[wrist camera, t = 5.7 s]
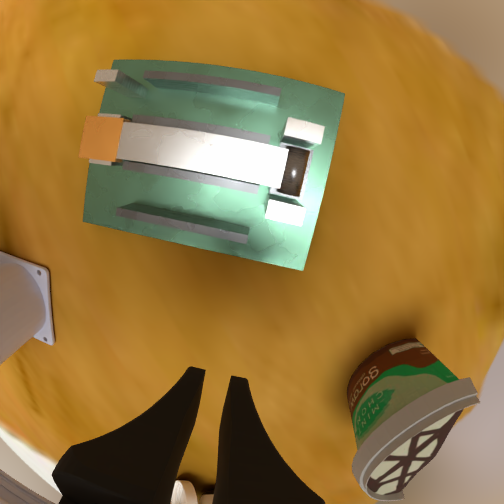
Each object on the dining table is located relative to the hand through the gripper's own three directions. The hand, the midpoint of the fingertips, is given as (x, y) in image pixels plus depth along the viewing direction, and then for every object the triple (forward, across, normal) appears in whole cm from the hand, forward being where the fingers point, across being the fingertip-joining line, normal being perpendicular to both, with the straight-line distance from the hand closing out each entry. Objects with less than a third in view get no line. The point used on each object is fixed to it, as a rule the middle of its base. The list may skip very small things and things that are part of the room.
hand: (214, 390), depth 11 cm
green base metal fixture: (+10, +4, -9) cm, 14 cm away
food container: (+11, -13, +6) cm, 18 cm away
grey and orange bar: (+6, +4, -9) cm, 12 cm away
